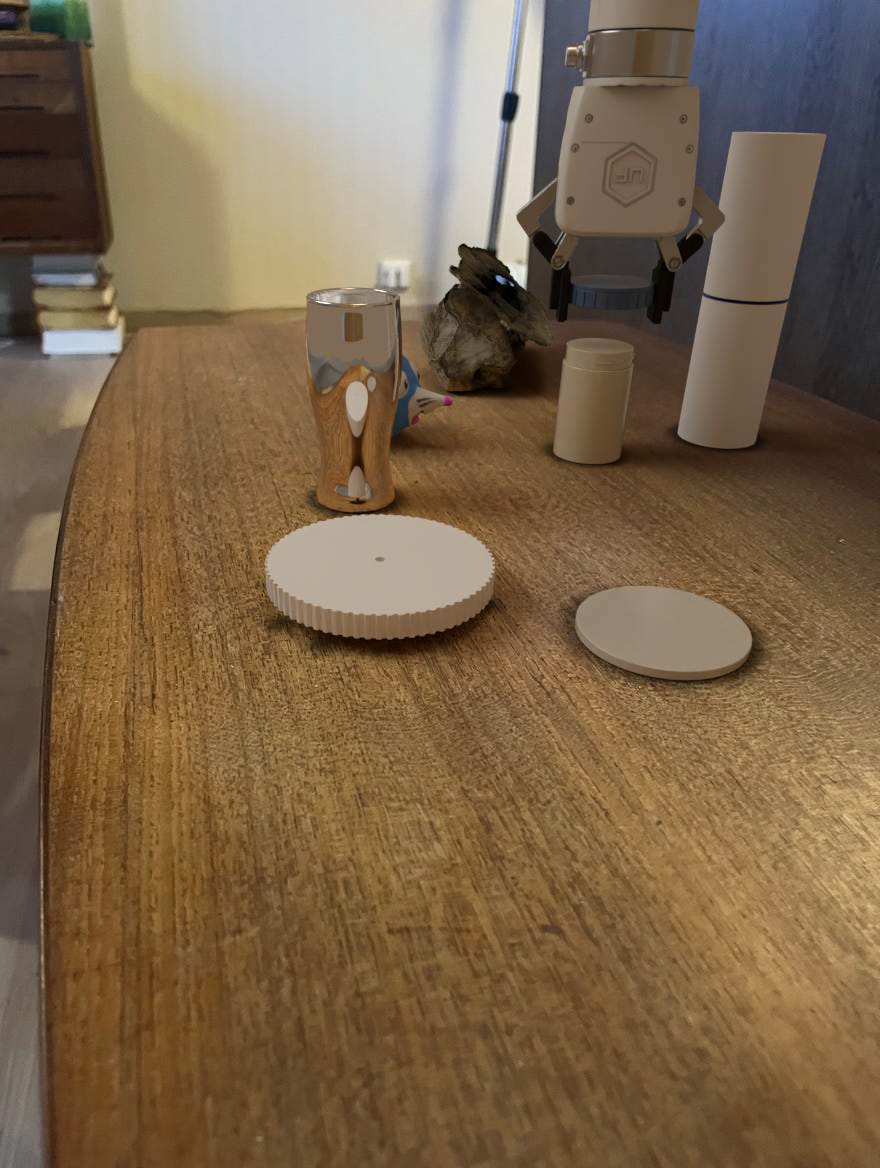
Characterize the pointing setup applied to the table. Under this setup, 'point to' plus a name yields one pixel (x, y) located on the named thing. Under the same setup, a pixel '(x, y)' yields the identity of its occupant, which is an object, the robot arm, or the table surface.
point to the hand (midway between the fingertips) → (607, 318)
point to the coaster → (663, 632)
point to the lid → (611, 292)
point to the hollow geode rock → (481, 324)
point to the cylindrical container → (748, 284)
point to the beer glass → (354, 392)
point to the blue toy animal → (414, 399)
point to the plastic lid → (379, 576)
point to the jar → (593, 400)
